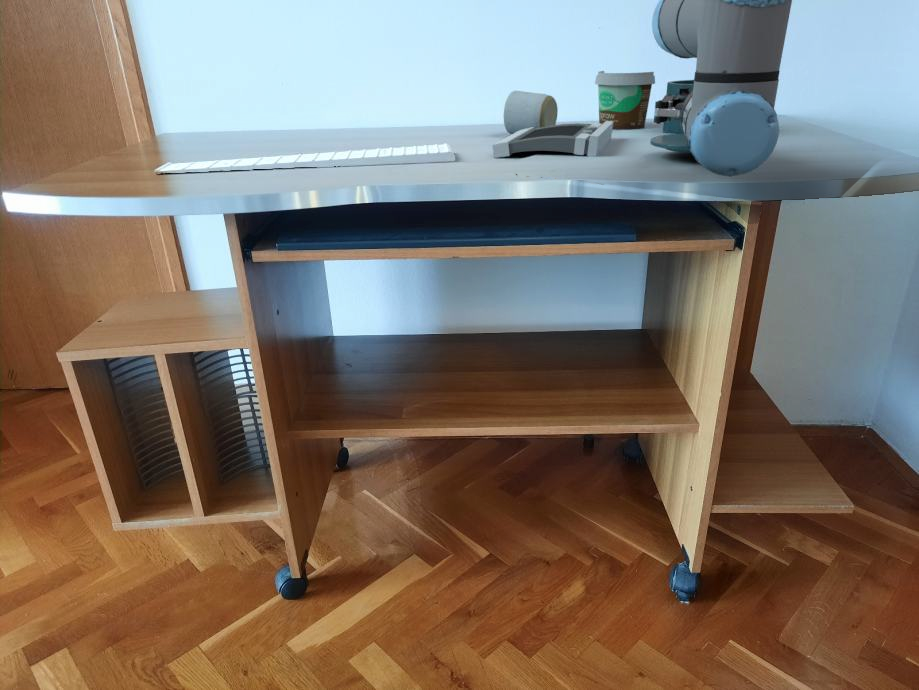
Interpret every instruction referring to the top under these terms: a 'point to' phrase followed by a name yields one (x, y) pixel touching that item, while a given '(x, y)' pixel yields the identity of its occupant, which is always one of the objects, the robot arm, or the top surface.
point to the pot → (674, 89)
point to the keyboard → (326, 159)
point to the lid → (672, 142)
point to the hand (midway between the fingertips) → (697, 98)
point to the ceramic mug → (529, 111)
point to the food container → (624, 98)
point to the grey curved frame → (557, 139)
